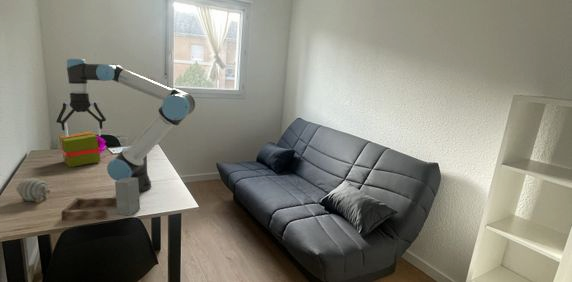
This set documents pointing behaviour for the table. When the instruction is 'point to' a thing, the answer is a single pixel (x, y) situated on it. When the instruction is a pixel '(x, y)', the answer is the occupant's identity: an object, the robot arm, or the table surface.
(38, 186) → the grey ribbed rounded piece
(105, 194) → the table surface
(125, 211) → the skincare box
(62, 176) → the table surface
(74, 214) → the walnut u-shaped frame
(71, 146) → the gift box
